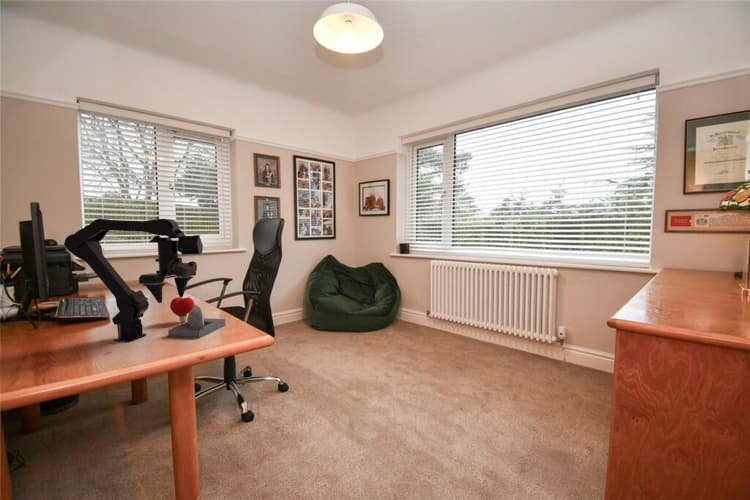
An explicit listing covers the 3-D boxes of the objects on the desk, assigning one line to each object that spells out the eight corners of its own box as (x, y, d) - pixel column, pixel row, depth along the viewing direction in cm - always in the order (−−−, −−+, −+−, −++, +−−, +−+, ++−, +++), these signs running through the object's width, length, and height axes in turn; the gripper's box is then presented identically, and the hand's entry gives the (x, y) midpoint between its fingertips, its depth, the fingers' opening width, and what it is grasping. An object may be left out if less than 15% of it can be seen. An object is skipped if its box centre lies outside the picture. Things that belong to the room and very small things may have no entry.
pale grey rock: (186, 332, 112) (184, 305, 111) (193, 329, 115) (191, 303, 115) (201, 333, 111) (200, 305, 110) (207, 330, 115) (206, 303, 114)
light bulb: (166, 324, 122) (164, 299, 121) (180, 319, 129) (178, 295, 128) (187, 325, 120) (185, 299, 120) (200, 320, 127) (198, 295, 127)
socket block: (168, 336, 108) (168, 329, 108) (197, 324, 122) (197, 318, 122) (199, 338, 106) (199, 331, 106) (225, 325, 120) (225, 319, 120)
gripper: (166, 258, 97) (169, 307, 99) (207, 253, 116) (210, 294, 117) (135, 257, 99) (139, 306, 100) (181, 253, 118) (183, 293, 119)
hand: (171, 299), depth 109 cm, fingers open, 9 cm apart
